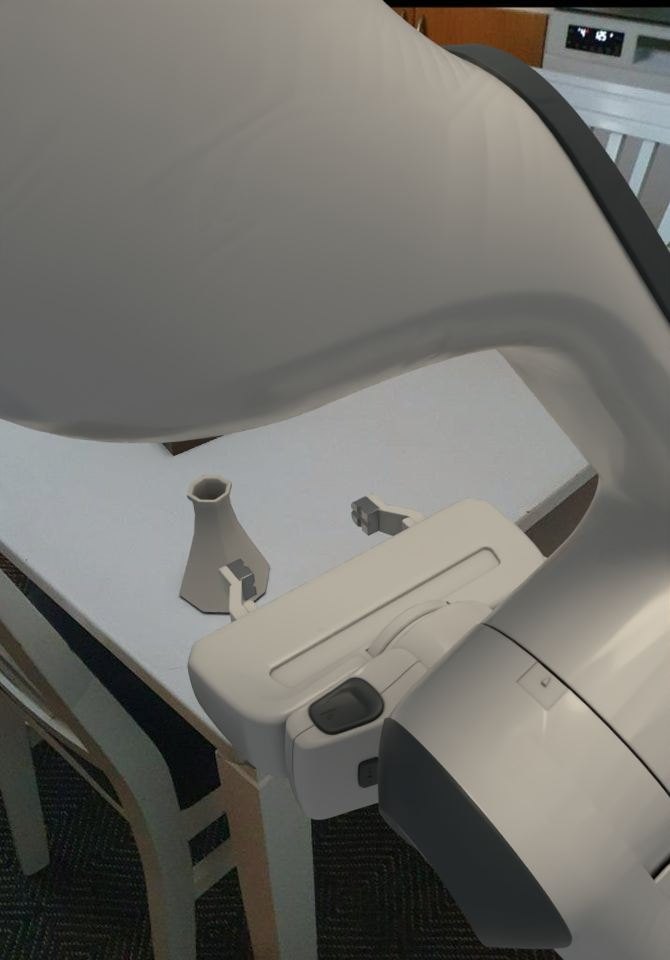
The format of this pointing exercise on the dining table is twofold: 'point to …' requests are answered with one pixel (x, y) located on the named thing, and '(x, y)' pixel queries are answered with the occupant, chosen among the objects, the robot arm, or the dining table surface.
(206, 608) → the flask
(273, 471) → the dining table surface
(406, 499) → the dining table surface
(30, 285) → the robot arm
